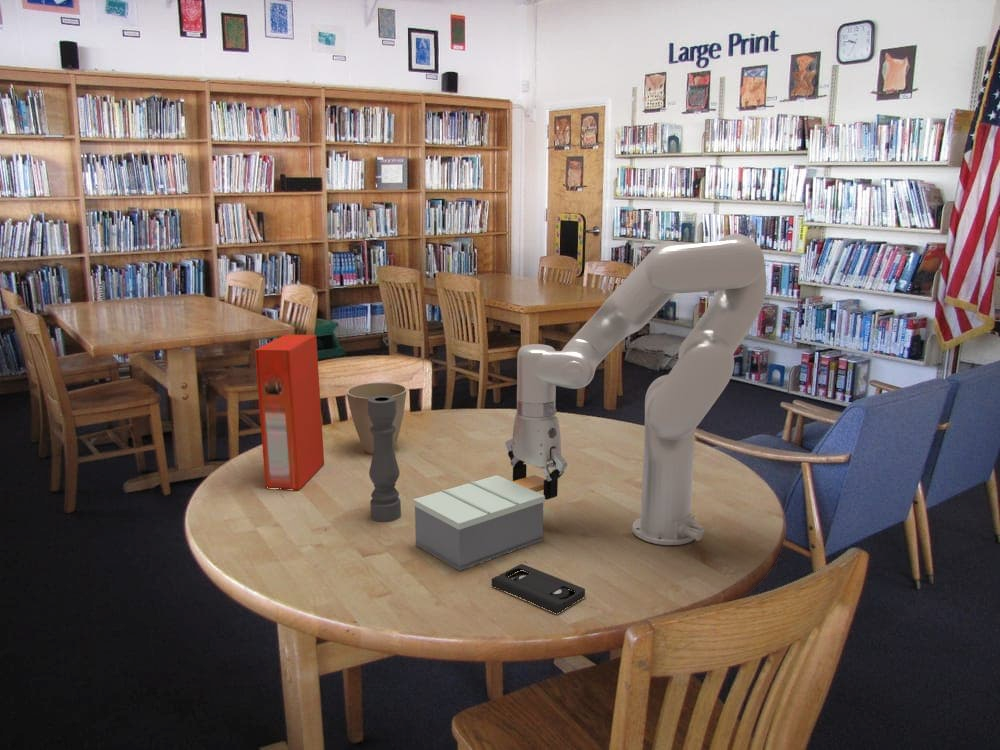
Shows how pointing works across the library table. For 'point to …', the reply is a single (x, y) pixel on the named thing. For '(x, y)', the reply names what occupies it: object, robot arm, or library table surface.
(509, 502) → the lid
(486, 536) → the tub
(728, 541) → the library table surface
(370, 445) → the plant pot
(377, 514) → the candle holder
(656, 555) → the library table surface
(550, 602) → the vhs tape
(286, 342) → the file binder
